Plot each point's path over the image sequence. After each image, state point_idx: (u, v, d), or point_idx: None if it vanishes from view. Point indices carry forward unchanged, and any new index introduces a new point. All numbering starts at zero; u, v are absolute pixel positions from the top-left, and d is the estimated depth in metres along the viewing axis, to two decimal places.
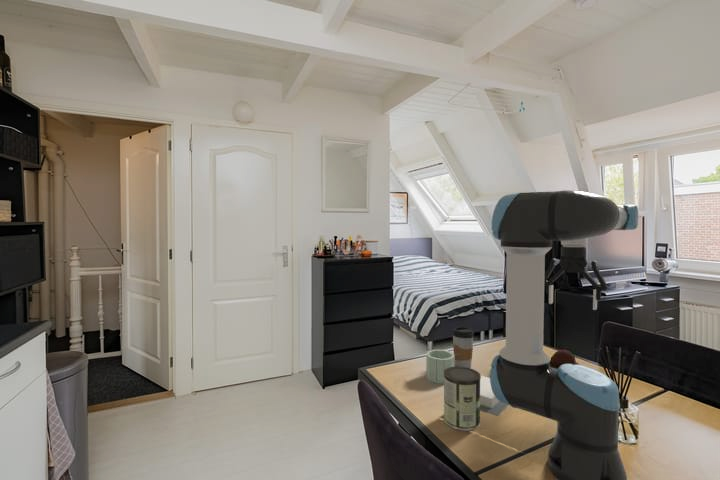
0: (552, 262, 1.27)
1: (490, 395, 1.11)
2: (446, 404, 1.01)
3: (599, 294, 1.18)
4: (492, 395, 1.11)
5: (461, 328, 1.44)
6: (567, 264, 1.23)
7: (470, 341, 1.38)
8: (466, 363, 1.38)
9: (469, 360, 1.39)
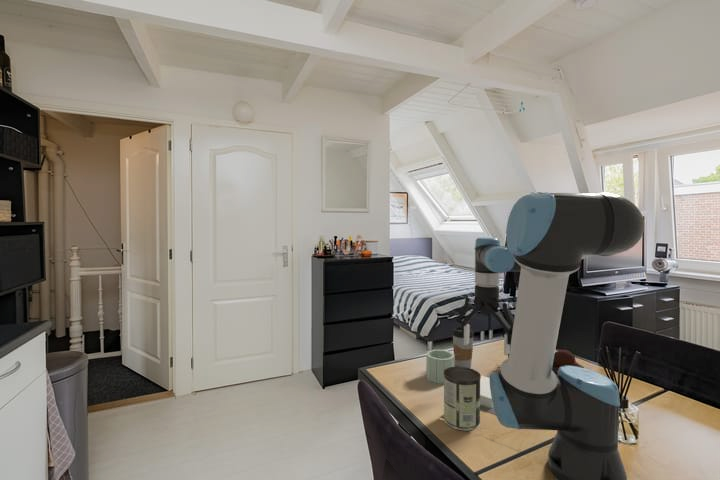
0: (467, 301, 1.19)
1: (490, 395, 1.11)
2: (446, 404, 1.01)
3: (510, 338, 1.10)
4: None
5: (461, 328, 1.44)
6: (480, 304, 1.15)
7: (470, 341, 1.38)
8: (466, 363, 1.38)
9: (469, 360, 1.39)
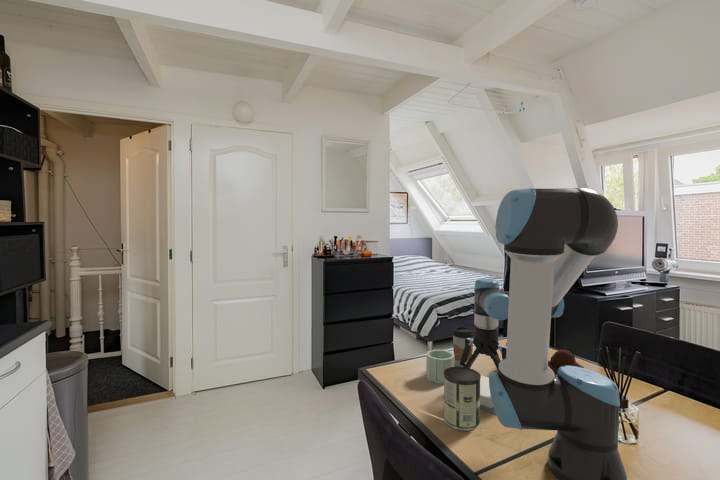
0: (466, 342, 1.20)
1: (490, 395, 1.11)
2: (446, 404, 1.01)
3: None
4: None
5: (461, 328, 1.44)
6: (479, 346, 1.16)
7: None
8: None
9: None
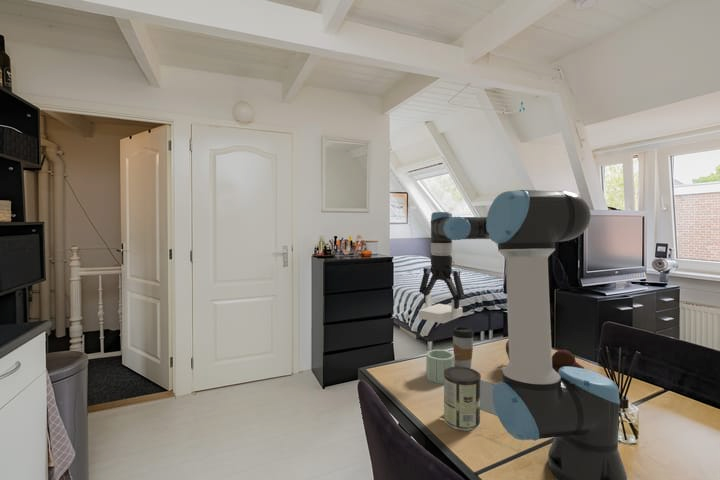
0: (425, 271, 1.32)
1: (443, 313, 1.24)
2: (446, 404, 1.01)
3: (456, 303, 1.25)
4: (445, 313, 1.23)
5: (461, 328, 1.44)
6: (435, 272, 1.28)
7: (470, 341, 1.38)
8: (466, 363, 1.38)
9: (469, 360, 1.39)
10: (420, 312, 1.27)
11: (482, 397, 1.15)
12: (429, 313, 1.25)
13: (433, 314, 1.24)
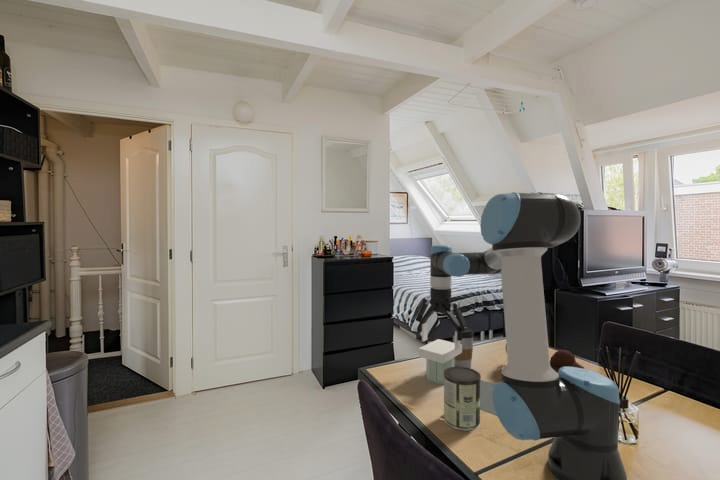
0: (424, 301, 1.33)
1: (443, 352, 1.24)
2: (446, 404, 1.01)
3: (460, 335, 1.24)
4: (444, 352, 1.24)
5: None
6: (434, 305, 1.29)
7: (470, 341, 1.38)
8: (466, 363, 1.38)
9: (469, 360, 1.39)
10: (420, 350, 1.28)
11: (482, 397, 1.15)
12: (429, 352, 1.25)
13: (433, 353, 1.24)
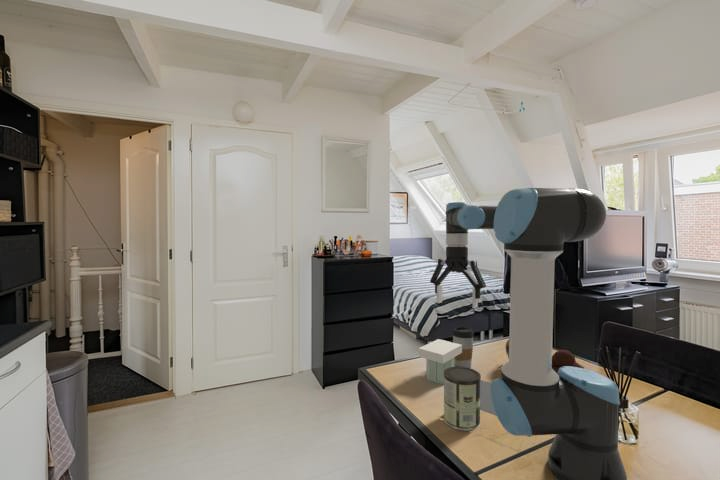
0: (439, 262, 1.29)
1: (443, 352, 1.24)
2: (446, 404, 1.01)
3: (478, 293, 1.20)
4: (444, 352, 1.24)
5: (461, 328, 1.44)
6: (450, 264, 1.25)
7: (470, 341, 1.38)
8: (466, 363, 1.38)
9: (469, 360, 1.39)
10: (420, 350, 1.28)
11: (482, 397, 1.15)
12: (429, 352, 1.25)
13: (433, 353, 1.24)
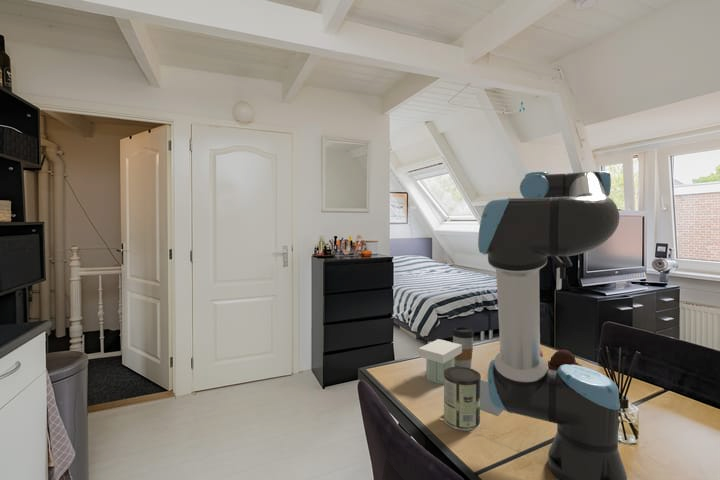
0: None
1: (443, 352, 1.24)
2: (446, 404, 1.01)
3: (563, 272, 1.09)
4: (444, 352, 1.24)
5: (461, 328, 1.44)
6: None
7: (470, 341, 1.38)
8: (466, 363, 1.38)
9: (469, 360, 1.39)
10: (420, 350, 1.28)
11: (482, 397, 1.15)
12: (429, 352, 1.25)
13: (433, 353, 1.24)
